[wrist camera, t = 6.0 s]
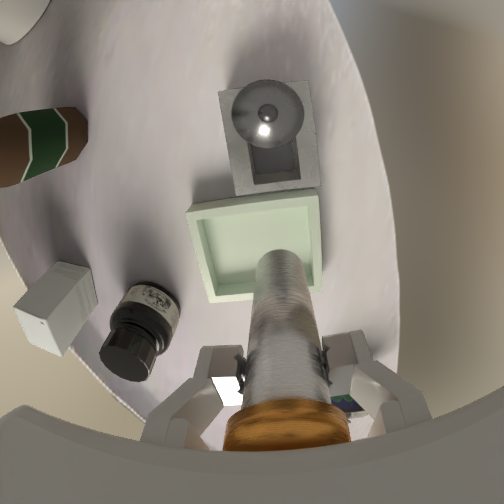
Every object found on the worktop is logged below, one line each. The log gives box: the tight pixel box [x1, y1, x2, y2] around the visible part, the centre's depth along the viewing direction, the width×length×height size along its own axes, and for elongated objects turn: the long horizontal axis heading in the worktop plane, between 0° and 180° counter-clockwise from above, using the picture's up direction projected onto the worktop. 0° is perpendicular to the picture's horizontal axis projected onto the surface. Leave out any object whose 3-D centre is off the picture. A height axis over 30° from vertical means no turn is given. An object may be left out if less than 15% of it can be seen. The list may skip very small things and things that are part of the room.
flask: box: [330, 394, 368, 424], centre depth 39 cm, size 10×3×12 cm, turn 82°
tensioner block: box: [218, 80, 321, 196], centre depth 24 cm, size 10×8×7 cm
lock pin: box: [223, 249, 351, 451], centre depth 12 cm, size 4×4×12 cm
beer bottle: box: [0, 107, 88, 188], centre depth 16 cm, size 8×8×24 cm
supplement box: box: [13, 261, 98, 357], centre depth 32 cm, size 7×7×13 cm
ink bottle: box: [99, 282, 180, 382], centre depth 33 cm, size 10×9×12 cm
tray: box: [185, 188, 322, 303], centre depth 32 cm, size 12×14×3 cm
